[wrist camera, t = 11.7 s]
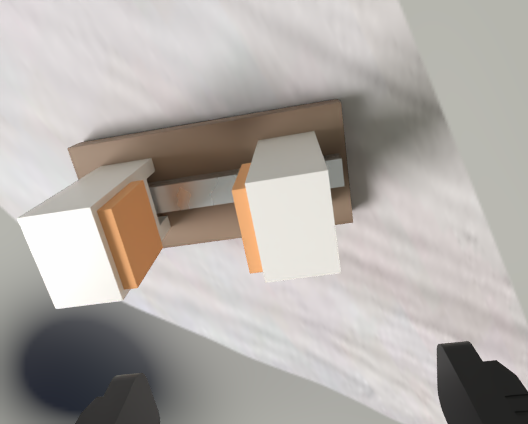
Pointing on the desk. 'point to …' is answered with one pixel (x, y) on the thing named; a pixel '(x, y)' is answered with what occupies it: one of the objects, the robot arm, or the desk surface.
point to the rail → (219, 156)
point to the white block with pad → (287, 210)
